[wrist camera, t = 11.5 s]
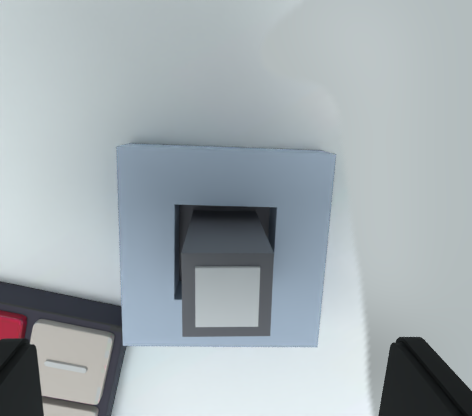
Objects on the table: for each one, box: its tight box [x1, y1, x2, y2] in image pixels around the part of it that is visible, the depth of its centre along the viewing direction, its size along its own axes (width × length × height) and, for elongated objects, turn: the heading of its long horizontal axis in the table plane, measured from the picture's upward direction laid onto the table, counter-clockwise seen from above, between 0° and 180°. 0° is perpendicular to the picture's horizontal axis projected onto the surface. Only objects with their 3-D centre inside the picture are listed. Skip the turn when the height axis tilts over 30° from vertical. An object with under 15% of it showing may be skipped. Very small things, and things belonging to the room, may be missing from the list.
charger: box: [181, 210, 274, 337], centre depth 20 cm, size 4×4×8 cm
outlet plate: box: [117, 143, 336, 347], centre depth 23 cm, size 12×12×3 cm
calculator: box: [0, 282, 126, 416], centre depth 25 cm, size 11×4×15 cm
